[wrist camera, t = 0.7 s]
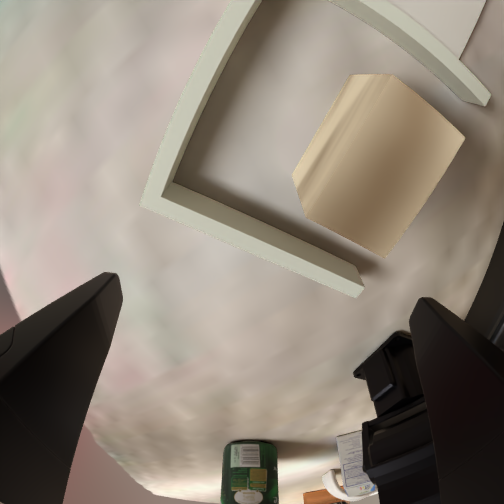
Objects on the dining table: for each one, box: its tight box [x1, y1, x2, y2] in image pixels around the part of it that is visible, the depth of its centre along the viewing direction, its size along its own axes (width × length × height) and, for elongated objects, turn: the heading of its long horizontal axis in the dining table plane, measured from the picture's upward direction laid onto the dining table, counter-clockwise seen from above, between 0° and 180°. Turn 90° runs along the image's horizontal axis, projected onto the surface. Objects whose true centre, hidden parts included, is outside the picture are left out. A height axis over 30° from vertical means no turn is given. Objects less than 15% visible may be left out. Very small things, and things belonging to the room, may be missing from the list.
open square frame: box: [139, 0, 491, 298], centre depth 15 cm, size 14×16×2 cm
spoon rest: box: [322, 470, 378, 501], centre depth 44 cm, size 24×12×7 cm, turn 81°
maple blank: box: [292, 74, 465, 259], centre depth 14 cm, size 4×7×6 cm, turn 154°
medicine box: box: [336, 430, 375, 497], centre depth 34 cm, size 8×4×9 cm, turn 19°
